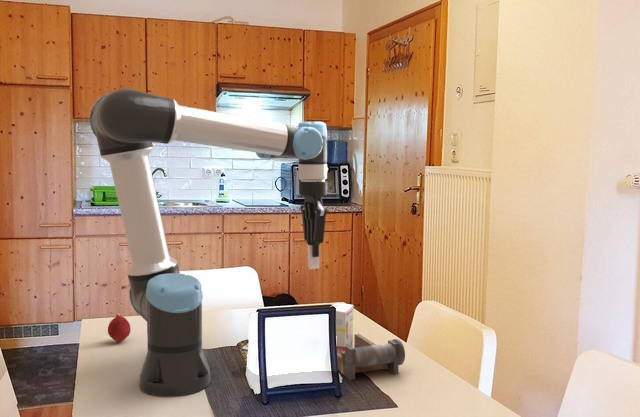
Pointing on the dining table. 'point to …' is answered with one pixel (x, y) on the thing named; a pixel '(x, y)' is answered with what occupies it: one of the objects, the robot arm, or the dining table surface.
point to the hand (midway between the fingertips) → (313, 268)
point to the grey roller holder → (370, 356)
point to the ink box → (344, 325)
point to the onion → (119, 328)
